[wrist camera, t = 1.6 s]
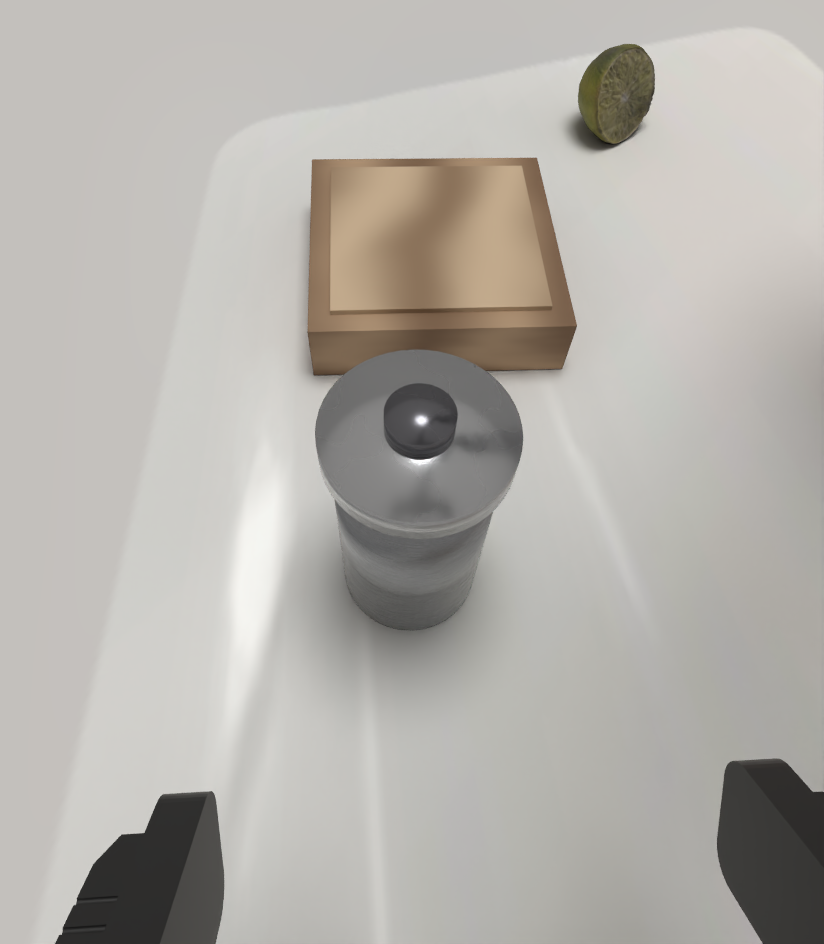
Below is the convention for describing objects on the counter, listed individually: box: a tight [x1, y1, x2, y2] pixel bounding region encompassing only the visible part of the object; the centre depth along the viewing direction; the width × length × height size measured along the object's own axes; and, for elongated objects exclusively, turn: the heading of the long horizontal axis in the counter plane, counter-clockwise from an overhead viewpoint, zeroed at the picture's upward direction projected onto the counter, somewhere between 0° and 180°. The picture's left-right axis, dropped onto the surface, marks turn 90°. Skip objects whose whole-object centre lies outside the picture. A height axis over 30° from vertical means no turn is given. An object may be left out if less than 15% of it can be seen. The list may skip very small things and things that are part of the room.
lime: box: [578, 44, 655, 144], centre depth 41 cm, size 4×5×5 cm
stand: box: [308, 158, 577, 375], centre depth 34 cm, size 12×12×3 cm
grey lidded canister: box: [315, 349, 523, 630], centre depth 23 cm, size 6×6×11 cm
